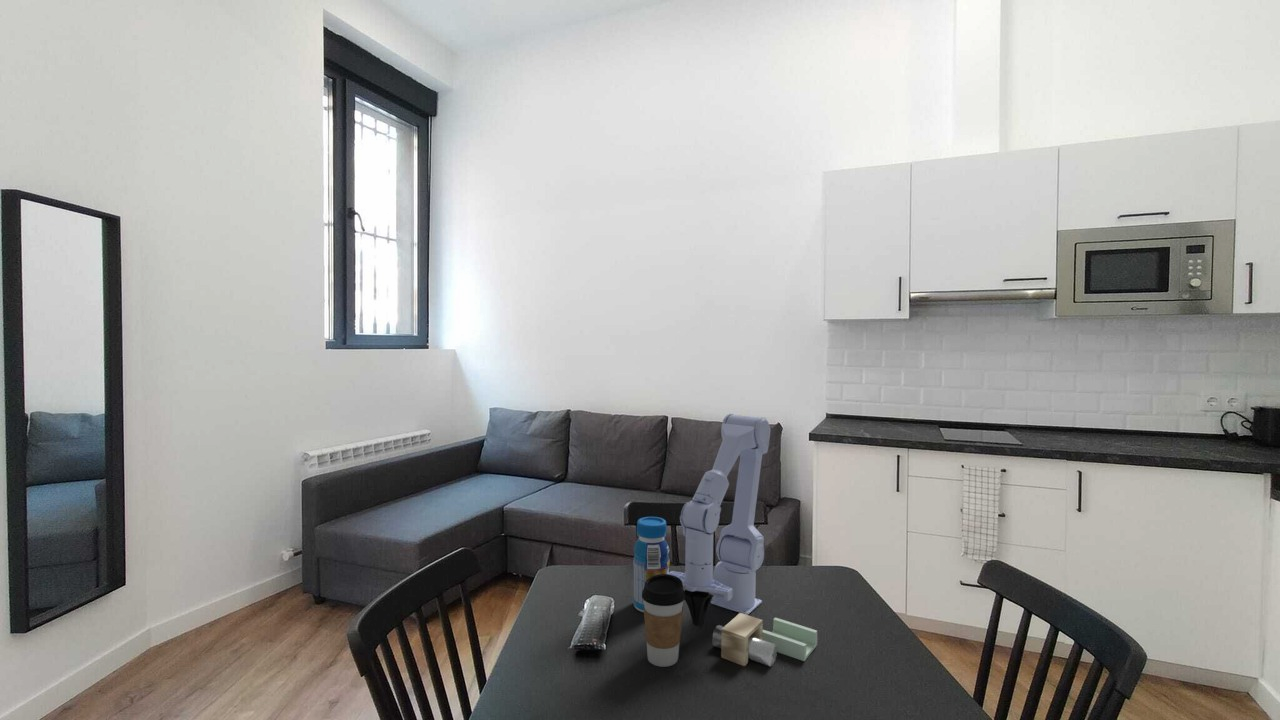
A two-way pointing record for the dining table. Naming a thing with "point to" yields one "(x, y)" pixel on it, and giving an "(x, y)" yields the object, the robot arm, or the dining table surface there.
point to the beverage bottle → (649, 555)
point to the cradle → (791, 639)
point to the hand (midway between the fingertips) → (698, 624)
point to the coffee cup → (663, 618)
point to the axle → (752, 648)
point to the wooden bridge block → (739, 637)
